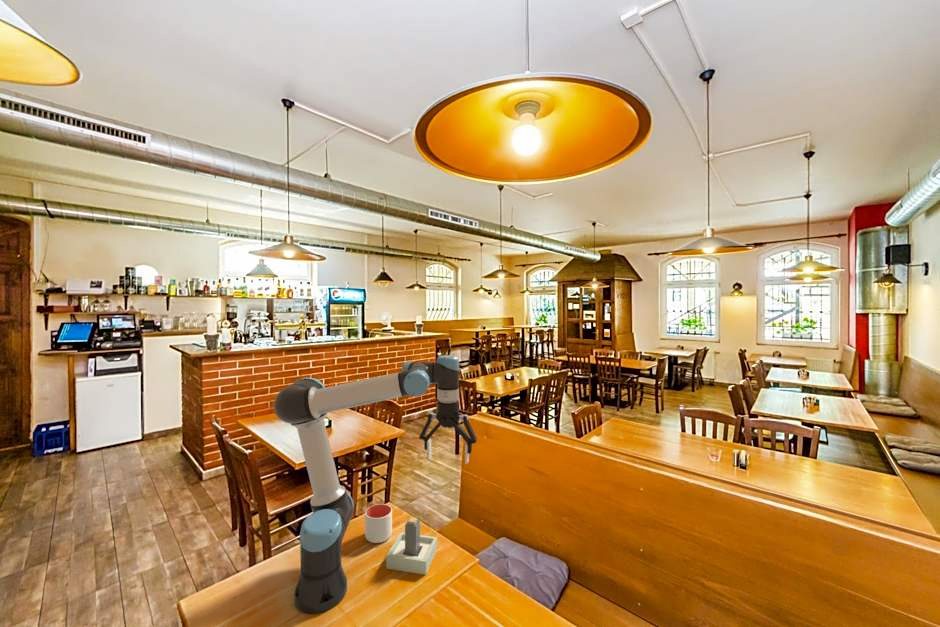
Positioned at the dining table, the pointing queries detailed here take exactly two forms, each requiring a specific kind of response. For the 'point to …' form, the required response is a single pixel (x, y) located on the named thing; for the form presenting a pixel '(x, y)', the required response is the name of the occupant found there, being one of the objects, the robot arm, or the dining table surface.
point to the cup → (378, 523)
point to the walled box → (411, 563)
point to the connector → (412, 537)
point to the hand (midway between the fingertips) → (447, 460)
